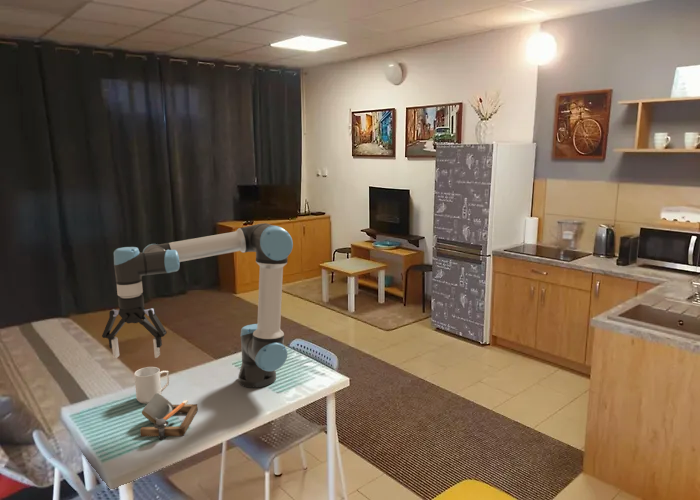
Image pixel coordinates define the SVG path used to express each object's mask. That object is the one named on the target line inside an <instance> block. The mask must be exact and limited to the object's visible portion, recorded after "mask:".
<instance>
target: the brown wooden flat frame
mask: <svg viewBox="0 0 700 500" xmlns="http://www.w3.org/2000/svg"><path fill="white" fill-rule="evenodd" d="M172 405H173V406H174V408H173V409H172V411H173V410H174V409H175V408H176V407H178V406H179V405H180V404H172ZM198 412H199V411H198V404H197V403H196V404H192V403H191V404H189V403H187V404H186V405H184V406H183V407H182V408H181V409H179V410H178V411H177V412H176V413H175V414H186V416H185V418H184V419H183V420H182V423H181V424H180V426H177V425H176V426H166V427H164V428H165V437H181V436H182V437H184V436H185V434H186V433H187V430H188V429H189V427H190V425H191V424H192V422H193V420H194V418H195V417H196V415H197V413H198ZM139 434H140V437H159V429H158V428H155V427H154V426H141V428H140V429H139Z"/></svg>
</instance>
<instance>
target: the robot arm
mask: <svg viewBox="0 0 700 500" xmlns="http://www.w3.org/2000/svg"><path fill="white" fill-rule="evenodd" d="M293 247H294V243H293V238H292V236H291V235H290V233H289V232H288V231H287V230H286V229H284V228H283V227H281V226H279V225H275V224H274V225H273V224H270V223H267V222H266V223H257V224H253V225H249V226H244V227H238V228H237V229H236V231H231V232H225V233H219V234H218V233H217V234H214V235H207V236H201V237H196V238H188V239H183V240H178V241H172V242H165V243H161V244H158V243H157V244H156V243H151V244H150V243H149V244H148V245H147V246H145V247H144V248H143V250H142V252H140V250H139V247H136V246H124V247H123V246H122V247H118V248H116V249H115V250H114V251H113V266H114V267H113V268H114V275H115V282H116V291H117V292H116V293H117V294H116V295H117V296H118V298H117V302H118V308H119V309H116V308H113V309H111V310H110V311H109V313H108V314H109V318H108V320H107V322H106V325H105V328H104V329H103V332H102V335H101V337H102V338H103V339H105V338H106V339H107V340H108V345H109V348H110V349H111V350H112V358H113V359H112V360H114V359H115V360H116V359H117V358H118V357H120V349H119V339H118V337H117V336H116V335H117V334H118V332H119V331H121V329H122V327H123V326H124V325H125V324H138V323H139V324H140V325H142V326H143V328H144V329H146V330H147V332H149V333H150V334H151V336H153V339H152V341H153V353H154V358H155V359H157V358H159V356H161V350H160V348H161V347H162V346H163V344H162V343H163V340H162V337H164V336H165V335H167V330H166V328H165V327H164V325H163V324H162V322H161V321H160V319H159V317H158V316H157V314H156V309H155V308H154V307H151V308H148V309H146V308H145V299H144V294H143V292H144V290H143V289H144V288H143V281H142V280H143V279H142V277H143V276H151V275H159V274H160V275H161V274H171V273H175V272H178V271H179V270H180V263H181V262H186V261H187V262H188V261H192V260H197V259H203V258H208V257H213V256H214V257H215V256H220V255H225V254H231V253H236V252H241V253H253V252H254V253H255V263H256V265H258V266H259V272H258V273H259V274H258V275H259V277H258V300H257V323H252V324H247V325H244V326H243V327H242V328H241V329H240V335H239V336H240V345H241V349H240V350H241V365H240V368H239V372H238V383H239V384H240V385H241V386H242V387H246V388H261V387H266V386H270V385H271V384H273V383H274V382H275V381H276V380H277V372H276V371H277V370H279V369H281V367H282V366H283V365H284V364H285V363H286V361H287V359H288V349H287V347H286V346H285V345H284V344H285V343H284V341H285V333H284V331H283V330H282V329H281V323H282V321H281V320H282V319H281V318H282V317H281V316H282V301H283V300H282V298H283V295H282V294H283V279H284V278H283V276H284V267H285V266H286V265H287V264H288V259H289V255H291V253H292V251H293ZM118 315H119V317H120V318H121V319H120V320H119V322H118V323H117V325H116V326H115V327H114V328H113V326H114V323H115V321H116V318H117V317H118ZM145 315H147V317H149V319H150V320H148V318H147V317H146V316H145ZM151 322H152V323H151ZM112 329H113V330H112Z"/></svg>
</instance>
